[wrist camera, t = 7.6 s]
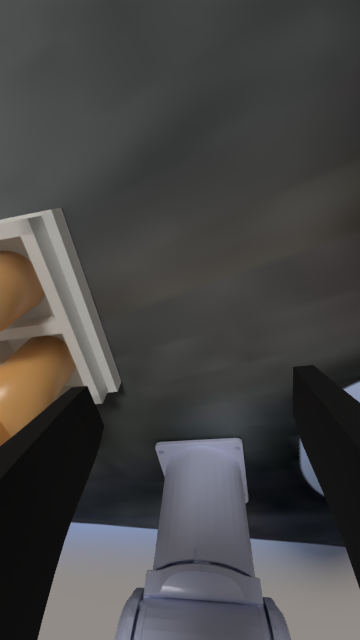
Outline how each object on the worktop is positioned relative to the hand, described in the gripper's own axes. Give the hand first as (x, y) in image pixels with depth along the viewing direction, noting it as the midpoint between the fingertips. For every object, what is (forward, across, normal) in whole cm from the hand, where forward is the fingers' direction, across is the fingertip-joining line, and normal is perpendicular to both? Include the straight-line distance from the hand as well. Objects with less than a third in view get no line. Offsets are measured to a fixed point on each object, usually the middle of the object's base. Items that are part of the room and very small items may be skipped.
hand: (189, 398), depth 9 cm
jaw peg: (+9, +12, +3) cm, 15 cm away
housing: (+10, +12, 0) cm, 15 cm away
